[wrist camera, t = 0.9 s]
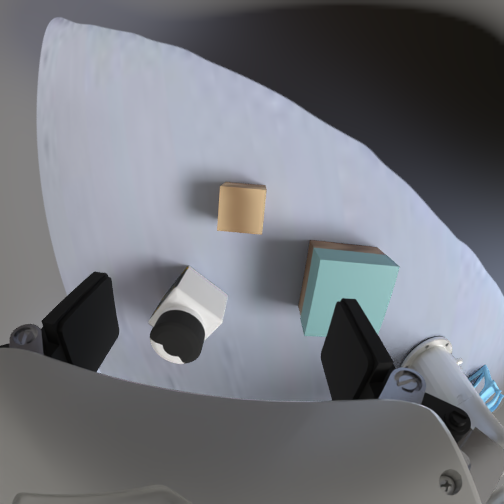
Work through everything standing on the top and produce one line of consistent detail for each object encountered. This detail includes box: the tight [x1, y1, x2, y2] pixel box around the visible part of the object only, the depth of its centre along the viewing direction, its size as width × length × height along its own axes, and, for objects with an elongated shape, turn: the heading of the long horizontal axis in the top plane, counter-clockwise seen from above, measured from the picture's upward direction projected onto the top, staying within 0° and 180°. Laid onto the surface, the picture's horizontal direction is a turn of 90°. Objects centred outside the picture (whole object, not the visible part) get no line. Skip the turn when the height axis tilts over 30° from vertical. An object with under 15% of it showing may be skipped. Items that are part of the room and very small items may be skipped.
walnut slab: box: [298, 240, 385, 315], centre depth 36 cm, size 10×10×4 cm
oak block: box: [217, 182, 266, 235], centre depth 33 cm, size 5×5×5 cm
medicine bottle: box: [149, 266, 228, 364], centre depth 34 cm, size 7×7×12 cm
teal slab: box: [300, 248, 399, 337], centre depth 33 cm, size 10×10×4 cm
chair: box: [468, 365, 504, 412], centre depth 41 cm, size 8×8×12 cm
